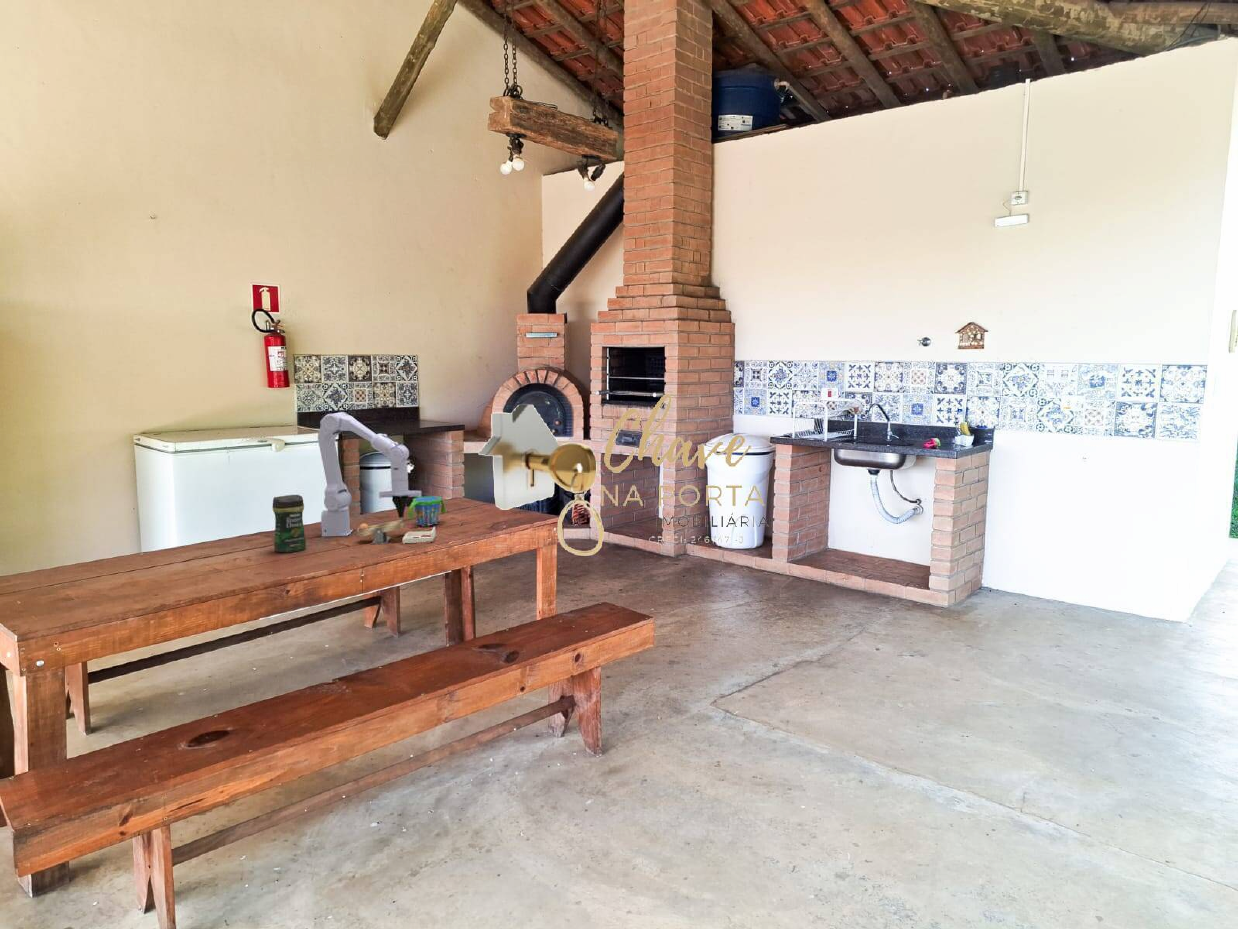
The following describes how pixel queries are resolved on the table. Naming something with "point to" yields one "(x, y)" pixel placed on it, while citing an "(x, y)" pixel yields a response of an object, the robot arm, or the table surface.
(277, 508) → the coffee jar
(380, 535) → the stand
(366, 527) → the ball
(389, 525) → the lever
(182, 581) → the table surface
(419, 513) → the snack cup
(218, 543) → the table surface
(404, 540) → the dish
